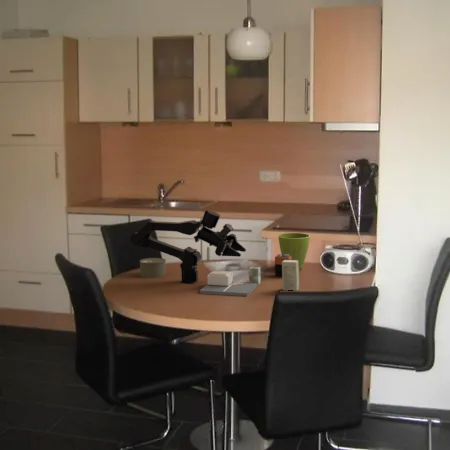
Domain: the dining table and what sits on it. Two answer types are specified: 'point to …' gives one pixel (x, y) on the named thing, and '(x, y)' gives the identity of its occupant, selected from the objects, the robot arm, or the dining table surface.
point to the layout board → (230, 289)
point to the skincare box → (290, 275)
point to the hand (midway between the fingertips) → (243, 253)
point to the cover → (220, 278)
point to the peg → (254, 275)
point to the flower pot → (294, 246)
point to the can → (152, 267)
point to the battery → (280, 263)
